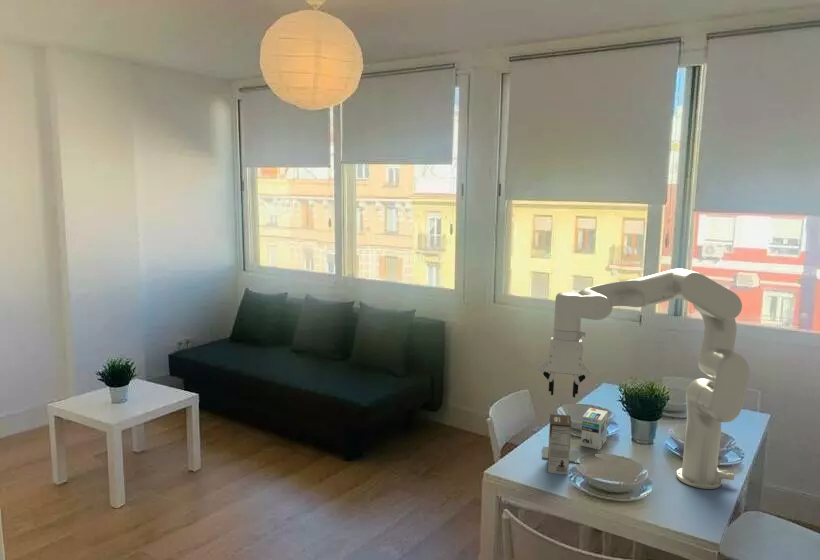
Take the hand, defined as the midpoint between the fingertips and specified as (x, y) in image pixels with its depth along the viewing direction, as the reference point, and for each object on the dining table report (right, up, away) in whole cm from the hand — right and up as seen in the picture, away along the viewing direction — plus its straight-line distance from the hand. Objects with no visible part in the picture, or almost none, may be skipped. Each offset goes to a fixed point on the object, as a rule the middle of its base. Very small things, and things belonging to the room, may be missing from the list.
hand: (562, 394), depth 179 cm
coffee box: (+2, -26, +14) cm, 30 cm away
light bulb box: (+19, -24, +34) cm, 46 cm away
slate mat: (+5, -25, +23) cm, 34 cm away
